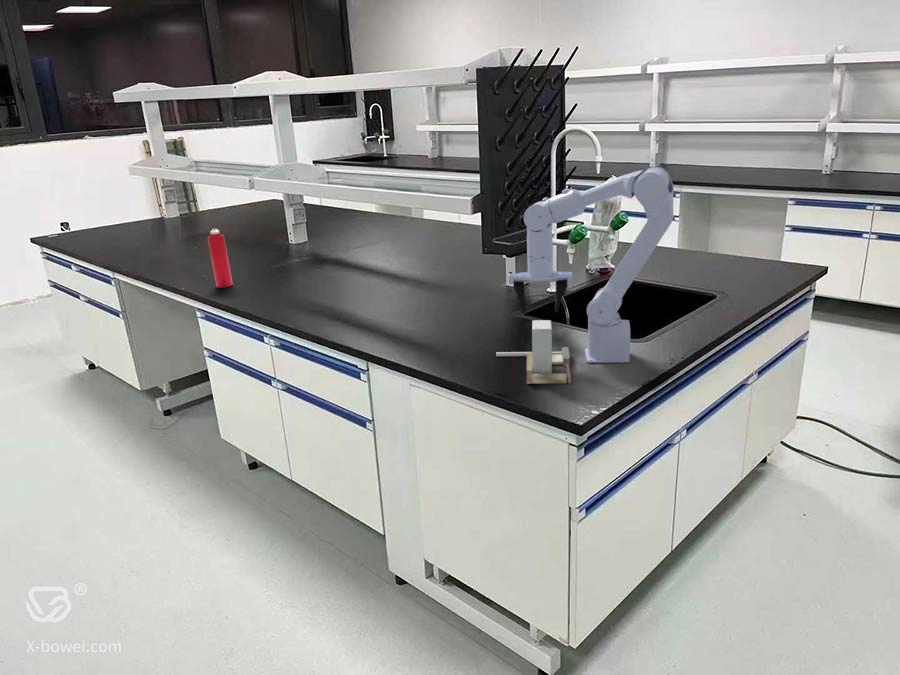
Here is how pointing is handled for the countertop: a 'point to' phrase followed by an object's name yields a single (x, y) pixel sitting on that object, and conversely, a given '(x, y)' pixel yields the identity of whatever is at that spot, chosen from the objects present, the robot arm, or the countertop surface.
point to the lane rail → (564, 352)
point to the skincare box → (541, 347)
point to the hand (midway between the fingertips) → (540, 311)
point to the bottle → (219, 259)
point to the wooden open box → (547, 377)
